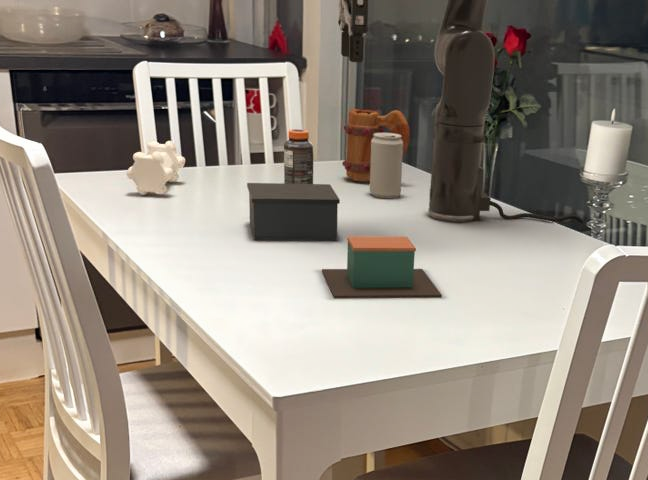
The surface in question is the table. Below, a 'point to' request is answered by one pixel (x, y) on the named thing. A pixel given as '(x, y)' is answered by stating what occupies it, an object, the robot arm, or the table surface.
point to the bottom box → (293, 211)
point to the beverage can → (386, 165)
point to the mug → (369, 139)
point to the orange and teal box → (380, 262)
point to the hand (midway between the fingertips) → (351, 59)
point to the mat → (344, 288)
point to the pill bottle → (298, 158)
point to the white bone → (156, 167)
